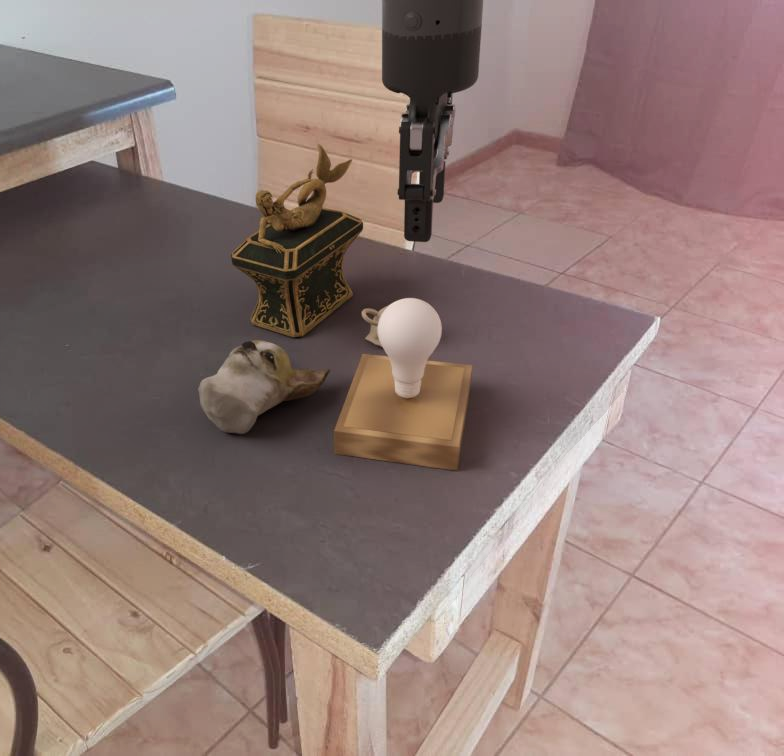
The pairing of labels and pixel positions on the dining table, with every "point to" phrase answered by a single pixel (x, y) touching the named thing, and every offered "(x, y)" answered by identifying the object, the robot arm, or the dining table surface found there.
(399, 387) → the lightbulb
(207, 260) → the dining table surface
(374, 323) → the decorative ornament
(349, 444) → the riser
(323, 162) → the decorative box
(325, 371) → the ceramic sculpture
